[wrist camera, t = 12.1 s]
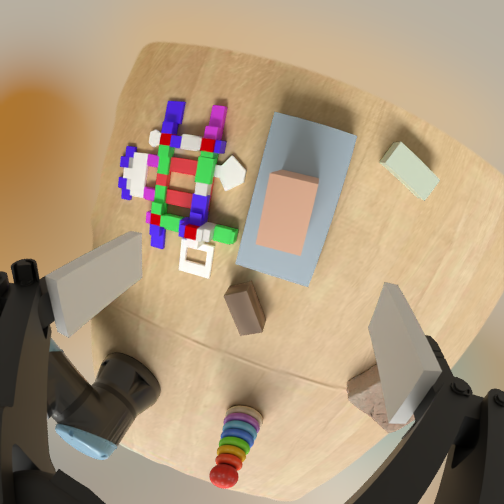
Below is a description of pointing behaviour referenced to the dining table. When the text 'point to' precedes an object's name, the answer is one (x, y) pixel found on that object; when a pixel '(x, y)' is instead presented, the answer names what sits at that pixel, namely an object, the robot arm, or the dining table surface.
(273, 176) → the terracotta block
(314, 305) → the dining table surface
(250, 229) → the base block
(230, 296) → the walnut block
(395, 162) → the sage block
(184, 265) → the building block set
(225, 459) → the stacking toy
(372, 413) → the brick
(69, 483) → the robot arm
